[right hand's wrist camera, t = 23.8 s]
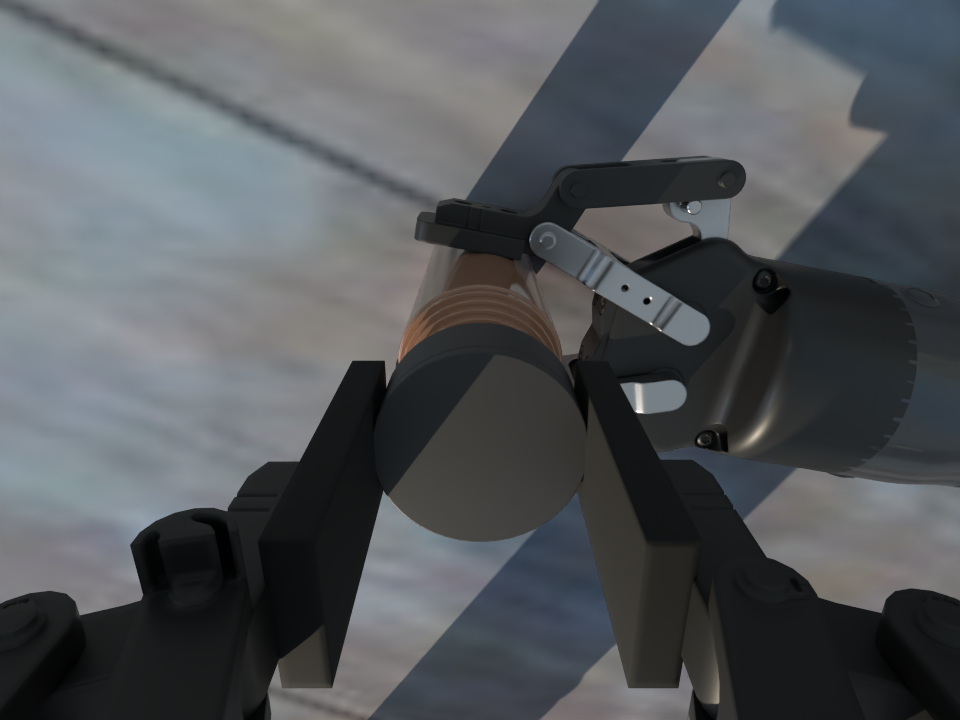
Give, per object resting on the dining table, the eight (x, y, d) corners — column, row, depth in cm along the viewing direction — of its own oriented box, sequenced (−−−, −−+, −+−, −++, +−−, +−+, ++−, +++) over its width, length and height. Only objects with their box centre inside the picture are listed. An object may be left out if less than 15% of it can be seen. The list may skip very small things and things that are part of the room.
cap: (354, 448, 15) (337, 493, 13) (435, 287, 13) (428, 313, 12) (518, 519, 16) (523, 570, 14) (612, 374, 14) (631, 411, 12)
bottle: (426, 220, 28) (363, 339, 13) (529, 215, 28) (588, 329, 13) (433, 318, 29) (385, 524, 14) (531, 314, 29) (583, 517, 14)
